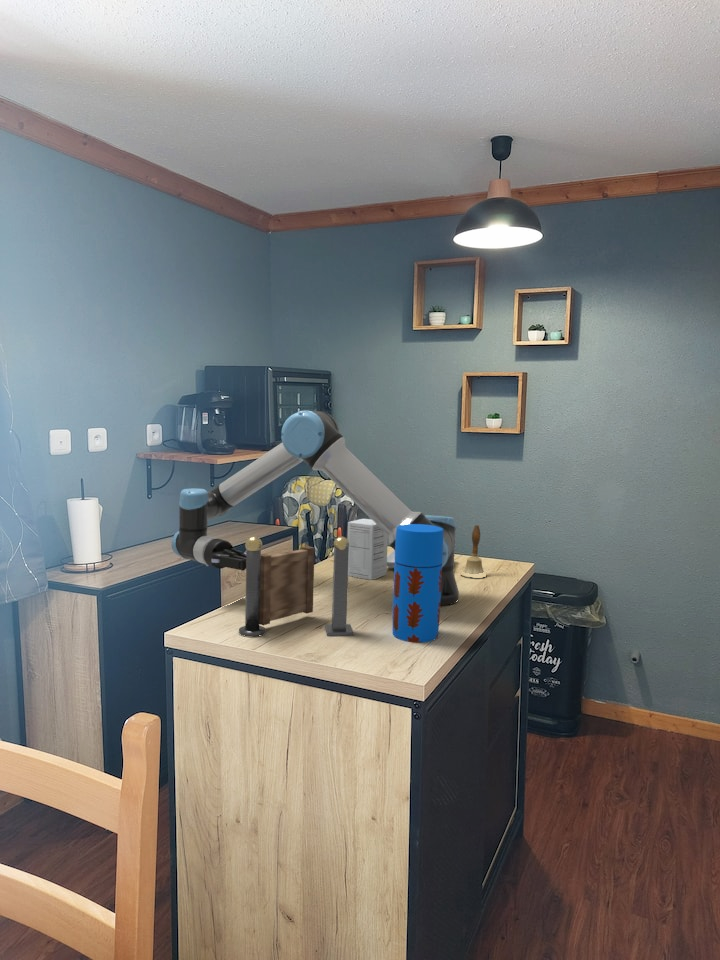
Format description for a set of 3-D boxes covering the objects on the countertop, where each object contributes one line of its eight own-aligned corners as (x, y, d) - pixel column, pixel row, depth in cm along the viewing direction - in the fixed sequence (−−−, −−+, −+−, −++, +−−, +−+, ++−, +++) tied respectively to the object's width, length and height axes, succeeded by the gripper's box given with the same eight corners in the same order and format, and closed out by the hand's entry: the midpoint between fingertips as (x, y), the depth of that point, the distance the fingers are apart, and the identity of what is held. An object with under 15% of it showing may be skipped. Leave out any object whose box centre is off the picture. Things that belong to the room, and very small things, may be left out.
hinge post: (269, 629, 165) (271, 535, 163) (260, 638, 159) (262, 539, 157) (244, 627, 166) (246, 533, 164) (234, 635, 161) (236, 538, 158)
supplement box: (387, 575, 222) (389, 521, 220) (372, 580, 214) (374, 525, 212) (361, 570, 227) (363, 517, 225) (345, 575, 219) (347, 521, 217)
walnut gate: (263, 625, 164) (264, 556, 162) (256, 623, 165) (257, 554, 163) (312, 611, 175) (314, 547, 174) (306, 609, 177) (307, 546, 175)
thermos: (436, 644, 159) (441, 533, 156) (388, 640, 161) (392, 530, 158) (440, 629, 170) (445, 525, 167) (395, 625, 172) (400, 522, 169)
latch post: (327, 635, 162) (329, 539, 160) (324, 627, 168) (327, 534, 166) (353, 635, 163) (356, 539, 161) (350, 627, 169) (353, 534, 167)
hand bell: (467, 571, 230) (470, 522, 229) (491, 575, 226) (494, 525, 224) (455, 575, 224) (458, 525, 222) (479, 580, 219) (482, 528, 217)
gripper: (233, 562, 196) (292, 580, 180) (193, 569, 186) (251, 588, 170) (234, 535, 195) (293, 550, 179) (194, 541, 185) (252, 557, 170)
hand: (273, 569), depth 175 cm, fingers closed
